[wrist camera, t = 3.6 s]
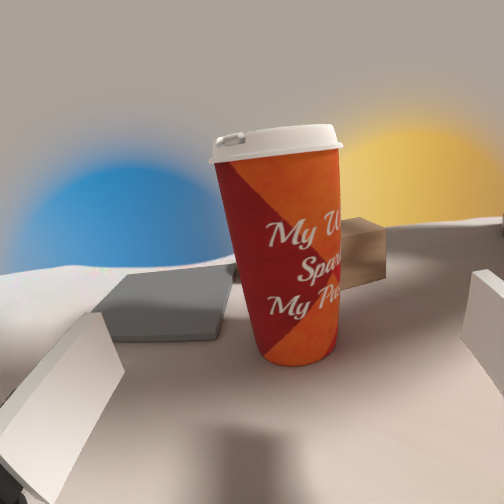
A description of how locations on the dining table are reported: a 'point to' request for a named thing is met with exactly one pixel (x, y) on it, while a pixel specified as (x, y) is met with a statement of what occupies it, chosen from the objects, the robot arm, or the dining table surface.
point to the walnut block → (362, 253)
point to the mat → (168, 305)
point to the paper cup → (285, 235)
